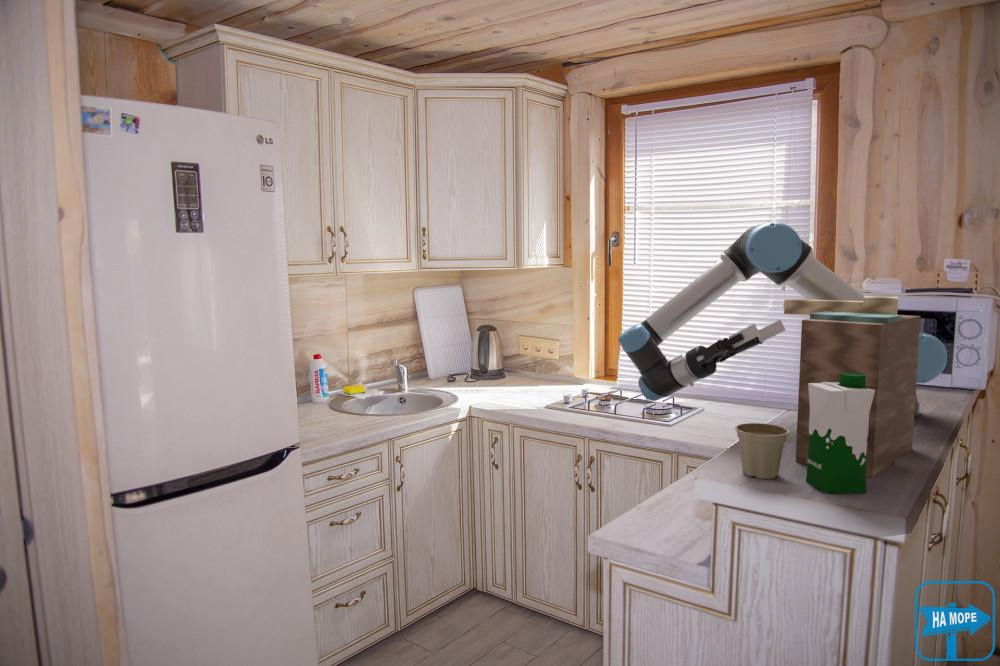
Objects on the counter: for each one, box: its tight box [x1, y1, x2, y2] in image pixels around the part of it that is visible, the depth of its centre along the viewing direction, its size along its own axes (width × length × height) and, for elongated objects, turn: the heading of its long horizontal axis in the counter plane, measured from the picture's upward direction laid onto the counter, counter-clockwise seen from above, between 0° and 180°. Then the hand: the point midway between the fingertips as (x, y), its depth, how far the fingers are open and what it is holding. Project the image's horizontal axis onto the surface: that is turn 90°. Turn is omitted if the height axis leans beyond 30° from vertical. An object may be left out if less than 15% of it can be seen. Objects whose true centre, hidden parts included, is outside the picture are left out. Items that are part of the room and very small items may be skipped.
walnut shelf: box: [795, 311, 921, 478], centre depth 143 cm, size 14×26×29 cm, turn 136°
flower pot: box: [734, 422, 790, 480], centre depth 131 cm, size 9×9×9 cm
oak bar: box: [783, 295, 899, 316], centre depth 147 cm, size 21×6×4 cm, turn 60°
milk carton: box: [805, 372, 875, 495], centre depth 123 cm, size 9×9×20 cm
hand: (770, 327), depth 159 cm, fingers open, 13 cm apart
